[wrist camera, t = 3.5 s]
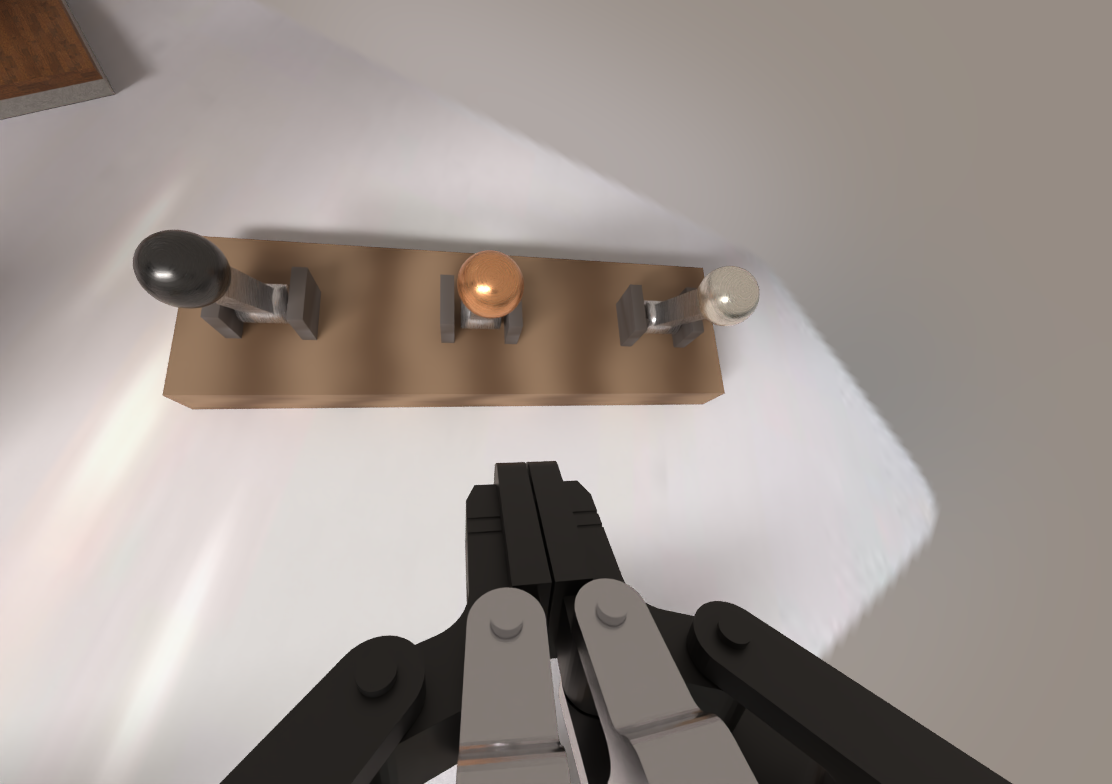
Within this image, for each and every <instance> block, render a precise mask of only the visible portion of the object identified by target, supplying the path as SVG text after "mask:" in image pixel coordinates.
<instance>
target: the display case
mask: <svg viewBox="0 0 1112 784" xmlns="http://www.w3.org/2000/svg"><path fill="white" fill-rule="evenodd" d="M114 94H115V93H114V91H113V89H112V88H111V86H110V84H109V82H108V80H107V78H106V76H105V74H104V72H103V71H102V69H101V67H100V65H99V63H98V61H97V59H96V57H95V56H94V54H93V52H92V50H91V48H90V46H89V44H88V42H87V40H86V39H85V37H84V35H83V33H82V31H81V29H80V27H79V25H78V24H77V22H76V20H75V18H74V16H73V14H72V12H71V10H70V8H69V7H68V5H67V3H66V1H65V0H0V120H1V119H5V118H10V117H14V116H19V115H23V114H28V113H32V112H37V111H41V110H46V109H50V108H55V107H59V106H64V105H68V104H73V103H77V102H82V101H87V100H91V99H96V98H100V97H105V96H109V95H114Z"/></svg>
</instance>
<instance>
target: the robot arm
mask: <svg viewBox="0 0 1112 784" xmlns="http://www.w3.org/2000/svg"><path fill="white" fill-rule="evenodd" d="M465 551H466V593H467V605H466V607H465V610H464V612H463V613H462V615H461V616H460V618H459V619H458V620H457V621H456V622H455V623H454V624H453V625H452V626H451V627H450V628H448V629H447V630H445V631H444V632H442V633H440V634H438V635H437V636H434V637H432V638H430V639H427V640H425V641H423V642H421V643H418V644H416V645H414V644H413V643H412V642H410V641H409V640H407V639H405V638H402V637H398V636H380V637H376V638H372V639H370V640H367V641H365V642H363V643H361V644H359V645H358V646H356V647H355V648H353V649H352V650H351V651H350V652H349V653H347V654H346V655H345V656H344V657H343V658H342V659H341V660H340V661H339V662H338V663H337V664H336V665H335V666H334V667H333V668H332V669H331V670H330V672H329V673H328V674H327V675H326V676H325V677H324V678H323V679H322V680H321V681H320V682H319V683H318V684H317V685H316V686H315V687H314V688H313V689H312V690H311V691H310V692H309V693H308V694H307V695H306V696H305V697H304V698H303V699H302V700H301V701H300V702H299V703H298V704H297V705H296V706H295V707H294V708H293V709H292V710H291V711H290V712H289V713H288V714H287V715H286V716H285V717H284V718H283V719H282V720H281V721H280V722H279V724H278V725H277V726H276V727H275V728H274V729H273V730H272V731H271V732H270V733H269V734H268V735H267V736H266V737H265V738H264V739H263V740H262V741H261V742H260V743H259V744H258V745H257V746H256V747H255V748H254V749H253V750H252V751H251V752H250V753H249V754H248V755H247V756H246V757H245V758H244V759H243V760H242V761H241V762H240V763H239V764H238V765H237V766H236V767H235V768H234V769H233V770H232V771H231V772H230V773H229V775H228V776H227V777H226V778H225V779H224V780H223V781H222V782H221V783H220V784H424V783H426V782H427V781H429V780H431V779H432V778H434V777H436V776H437V775H439V774H441V773H442V772H444V771H446V770H448V769H449V768H451V767H453V766H454V765H456V764H457V775H456V784H571V780H570V773H569V766H568V761H567V756H566V752H565V749H564V747H563V746H562V745H561V744H560V741H559V736H558V729H557V720H556V710H555V701H554V692H553V682H552V673H551V663H550V659H552V658H557V659H558V664H559V669H560V674H561V680H560V685H559V700H560V705H561V708H562V712H563V716H564V720H565V724H566V728H567V732H568V736H569V740H570V743H571V747H572V751H573V755H574V759H575V763H576V767H577V771H578V775H579V778H580V782H581V784H1012V783H1010V782H1009V781H1007V780H1006V779H1004V778H1003V777H1001V776H1000V775H998V774H997V773H995V772H993V771H992V770H990V769H989V768H987V767H986V766H984V765H983V764H981V763H980V762H978V761H977V760H975V759H974V758H972V757H970V756H969V755H967V754H966V753H964V752H963V751H961V750H960V749H958V748H956V747H955V746H954V745H952V744H950V743H949V742H947V741H946V740H944V739H943V738H941V737H940V736H938V735H936V734H935V733H933V732H932V731H930V730H929V729H927V728H926V727H924V726H923V725H921V724H920V723H918V722H916V721H915V720H913V719H912V718H910V717H909V716H907V715H906V714H904V713H903V712H901V711H900V710H898V709H897V708H895V707H893V706H892V705H891V704H889V703H887V702H886V701H884V700H883V699H881V698H880V697H878V696H877V695H875V694H873V693H872V692H871V691H869V690H867V689H866V688H864V687H863V686H861V685H860V684H858V683H857V682H855V681H853V680H852V679H850V678H849V677H847V676H846V675H844V674H843V673H841V672H840V671H838V670H837V669H835V668H833V667H832V666H831V665H829V664H827V663H826V662H824V661H823V660H821V659H820V658H818V657H817V656H815V655H814V654H812V653H811V652H809V651H808V650H806V649H804V648H803V647H801V646H800V645H798V644H797V643H795V642H794V641H792V640H791V639H789V638H788V637H786V636H784V635H783V634H781V633H780V632H778V631H777V630H775V629H774V628H772V627H771V626H769V625H768V624H766V623H764V622H763V621H761V620H760V619H758V618H757V617H755V616H754V615H752V614H751V613H749V612H748V611H746V610H744V609H743V608H741V607H739V606H737V605H734V604H731V603H728V602H722V601H713V602H708V603H706V604H704V605H702V606H701V607H700V608H699V609H698V610H697V612H696V614H695V616H690V615H686V614H681V613H676V612H671V611H666V610H662V609H658V608H656V607H653V606H651V605H649V604H647V603H645V602H644V600H643V598H642V597H641V596H640V595H639V593H638V592H637V591H635V590H634V589H633V588H632V587H630V586H629V585H627V584H625V582H624V580H623V578H622V575H621V572H620V570H619V567H618V564H617V562H616V559H615V557H614V554H613V551H612V549H611V546H610V544H609V541H608V538H607V536H606V533H605V530H604V528H603V527H602V523H601V520H600V517H599V515H598V514H597V509H596V507H595V504H594V502H593V499H592V496H591V494H590V493H589V492H588V491H587V490H586V489H585V488H584V487H583V486H582V485H581V484H580V483H579V482H578V481H563V480H562V477H561V474H560V470H559V467H558V464H557V462H556V461H543V462H527V463H525V462H517V463H496V464H495V473H494V484H492V485H474V487H473V489H472V491H471V493H470V494H469V496H468V498H467V500H466V540H465Z"/></svg>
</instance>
